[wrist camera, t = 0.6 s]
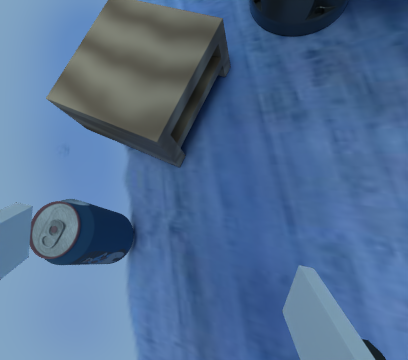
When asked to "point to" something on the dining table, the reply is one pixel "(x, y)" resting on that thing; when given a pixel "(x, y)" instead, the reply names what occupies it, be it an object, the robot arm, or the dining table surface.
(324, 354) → the robot arm
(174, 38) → the shelf
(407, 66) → the dining table surface
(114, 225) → the soda can
